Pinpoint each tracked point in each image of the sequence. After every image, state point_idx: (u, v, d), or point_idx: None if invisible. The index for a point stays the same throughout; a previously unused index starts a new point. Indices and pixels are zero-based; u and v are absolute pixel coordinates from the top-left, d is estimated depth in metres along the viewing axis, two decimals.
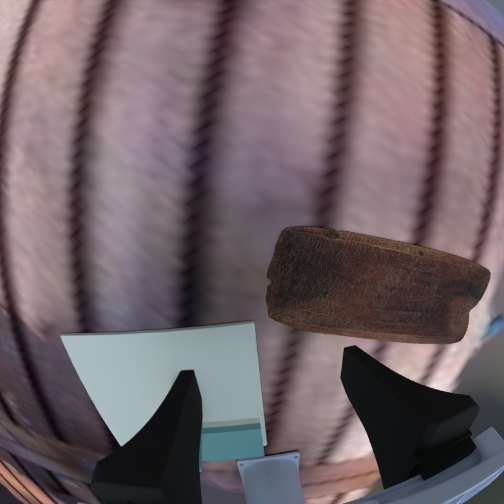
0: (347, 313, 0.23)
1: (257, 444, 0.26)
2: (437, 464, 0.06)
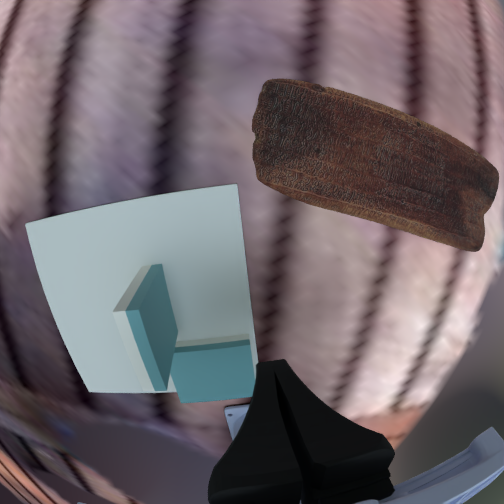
0: (346, 179, 0.20)
1: (247, 374, 0.23)
2: (338, 503, 0.06)
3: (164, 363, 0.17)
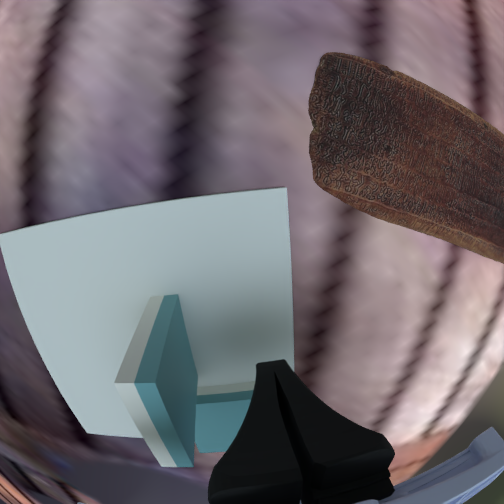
0: (418, 187, 0.15)
1: None
2: (339, 503, 0.06)
3: (188, 433, 0.12)
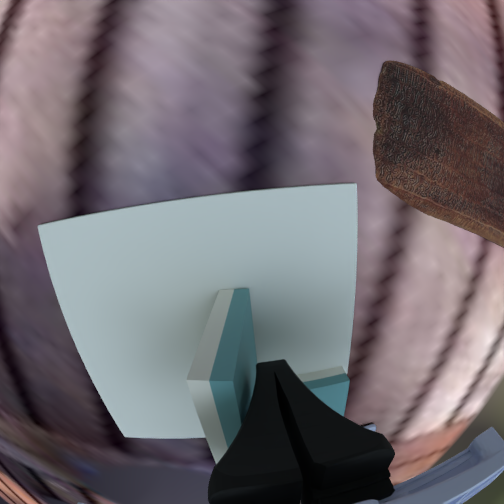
0: (460, 186, 0.15)
1: (337, 411, 0.18)
2: (339, 503, 0.06)
3: None
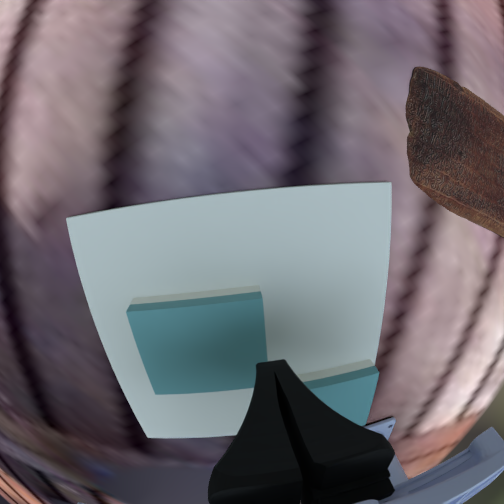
0: (479, 186, 0.15)
1: (364, 404, 0.18)
2: (339, 503, 0.06)
3: (171, 380, 0.15)
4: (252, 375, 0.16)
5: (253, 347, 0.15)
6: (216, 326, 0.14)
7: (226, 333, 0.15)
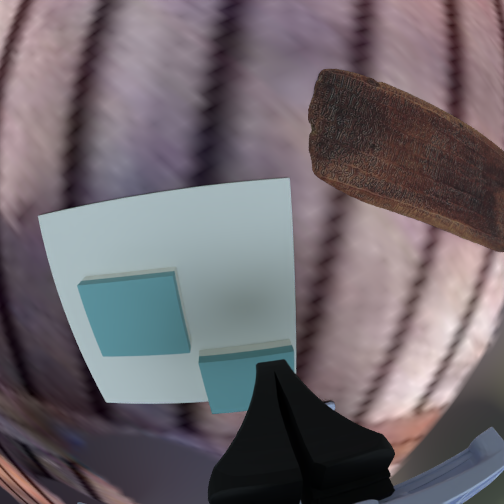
0: (398, 177, 0.19)
1: None
2: (339, 503, 0.06)
3: (112, 343, 0.19)
4: (174, 342, 0.19)
5: (171, 317, 0.18)
6: (140, 298, 0.18)
7: (148, 304, 0.18)
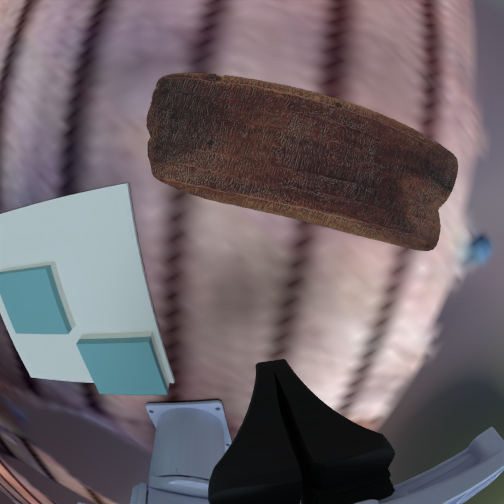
0: (243, 171, 0.19)
1: (152, 371, 0.22)
2: (338, 503, 0.06)
3: (19, 322, 0.20)
4: (56, 324, 0.20)
5: (50, 302, 0.19)
6: (29, 285, 0.19)
7: (35, 290, 0.19)
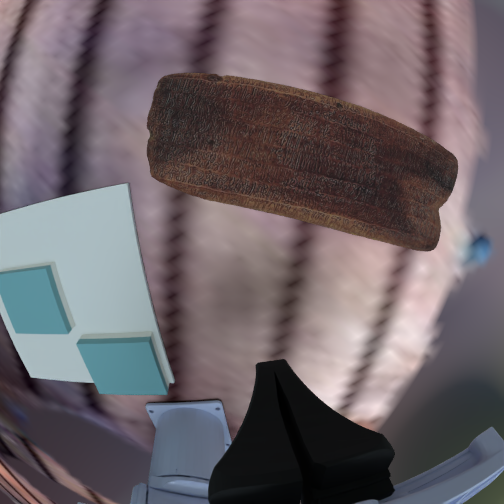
0: (244, 170, 0.19)
1: (152, 371, 0.22)
2: (338, 503, 0.06)
3: (19, 322, 0.20)
4: (56, 324, 0.20)
5: (50, 302, 0.19)
6: (29, 285, 0.19)
7: (35, 290, 0.19)
